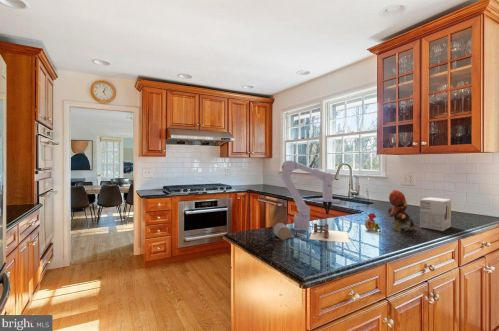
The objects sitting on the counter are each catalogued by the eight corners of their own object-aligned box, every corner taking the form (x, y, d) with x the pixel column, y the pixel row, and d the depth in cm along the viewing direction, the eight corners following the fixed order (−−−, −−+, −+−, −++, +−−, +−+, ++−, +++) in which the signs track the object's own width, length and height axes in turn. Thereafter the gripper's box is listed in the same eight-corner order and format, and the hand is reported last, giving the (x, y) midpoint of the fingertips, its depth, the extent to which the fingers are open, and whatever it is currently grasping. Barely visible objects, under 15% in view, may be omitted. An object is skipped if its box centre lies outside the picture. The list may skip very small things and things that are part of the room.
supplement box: (444, 231, 161) (444, 201, 161) (419, 227, 171) (419, 199, 171) (451, 226, 173) (451, 198, 172) (427, 223, 183) (427, 196, 182)
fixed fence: (313, 232, 157) (313, 224, 157) (314, 231, 159) (314, 223, 159) (328, 233, 155) (328, 225, 155) (328, 232, 156) (328, 224, 156)
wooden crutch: (325, 232, 155) (325, 225, 155) (328, 233, 154) (328, 225, 154) (324, 238, 145) (324, 229, 145) (327, 238, 144) (327, 230, 144)
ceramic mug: (278, 240, 142) (278, 226, 142) (273, 236, 150) (273, 223, 150) (296, 239, 145) (297, 225, 145) (291, 235, 153) (291, 222, 153)
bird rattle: (373, 235, 159) (383, 228, 163) (367, 219, 158) (378, 212, 161) (365, 233, 165) (375, 226, 168) (359, 217, 163) (369, 210, 167)
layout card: (309, 240, 143) (309, 238, 143) (312, 230, 164) (312, 229, 164) (349, 243, 137) (349, 242, 137) (347, 232, 158) (347, 231, 158)
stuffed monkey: (409, 231, 154) (398, 189, 159) (384, 232, 169) (375, 193, 174) (425, 227, 161) (414, 186, 165) (399, 228, 176) (390, 190, 180)
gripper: (314, 192, 164) (314, 214, 165) (339, 193, 160) (339, 216, 160) (315, 191, 171) (315, 212, 171) (339, 192, 167) (339, 213, 167)
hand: (327, 214), depth 166 cm, fingers closed
